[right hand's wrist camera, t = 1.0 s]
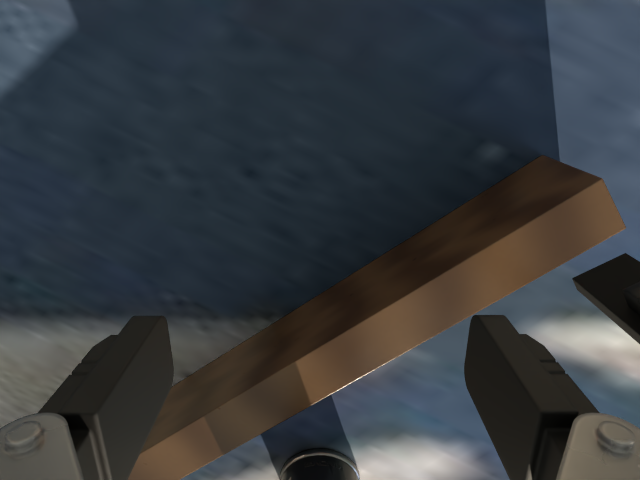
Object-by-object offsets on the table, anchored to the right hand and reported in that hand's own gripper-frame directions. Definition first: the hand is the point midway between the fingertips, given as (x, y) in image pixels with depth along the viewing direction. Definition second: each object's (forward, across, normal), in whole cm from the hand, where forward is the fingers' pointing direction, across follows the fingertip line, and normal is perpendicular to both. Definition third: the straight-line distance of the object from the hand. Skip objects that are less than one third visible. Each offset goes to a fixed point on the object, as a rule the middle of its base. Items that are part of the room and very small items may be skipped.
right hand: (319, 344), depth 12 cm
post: (+29, -10, -23) cm, 38 cm away
